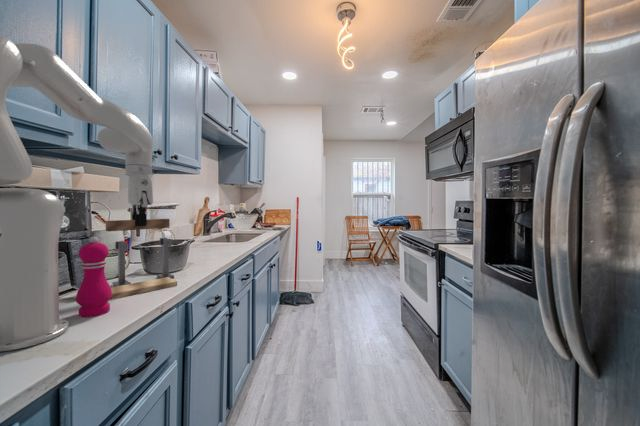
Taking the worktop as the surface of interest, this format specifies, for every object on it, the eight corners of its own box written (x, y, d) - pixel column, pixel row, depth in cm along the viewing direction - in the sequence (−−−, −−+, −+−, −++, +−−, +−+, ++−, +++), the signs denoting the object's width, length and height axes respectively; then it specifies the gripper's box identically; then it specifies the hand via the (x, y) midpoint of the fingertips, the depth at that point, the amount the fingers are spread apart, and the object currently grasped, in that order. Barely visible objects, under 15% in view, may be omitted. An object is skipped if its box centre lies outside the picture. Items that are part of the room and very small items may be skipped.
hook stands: (117, 288, 90) (116, 243, 90) (112, 285, 94) (112, 241, 93) (174, 278, 104) (174, 238, 103) (168, 275, 108) (168, 237, 107)
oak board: (97, 302, 78) (97, 297, 78) (91, 295, 83) (91, 290, 83) (177, 285, 94) (177, 281, 94) (168, 281, 100) (168, 277, 100)
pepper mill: (119, 308, 74) (118, 235, 73) (94, 319, 66) (93, 238, 66) (95, 306, 74) (94, 234, 74) (68, 317, 67) (66, 238, 67)
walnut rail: (107, 231, 84) (107, 221, 84) (105, 230, 85) (105, 220, 85) (169, 227, 98) (169, 218, 98) (166, 227, 99) (166, 218, 99)
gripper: (160, 171, 89) (160, 226, 89) (143, 174, 99) (143, 224, 99) (133, 168, 83) (133, 228, 83) (119, 172, 93) (119, 225, 94)
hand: (139, 225), depth 91 cm, fingers closed on walnut rail, 2 cm apart
